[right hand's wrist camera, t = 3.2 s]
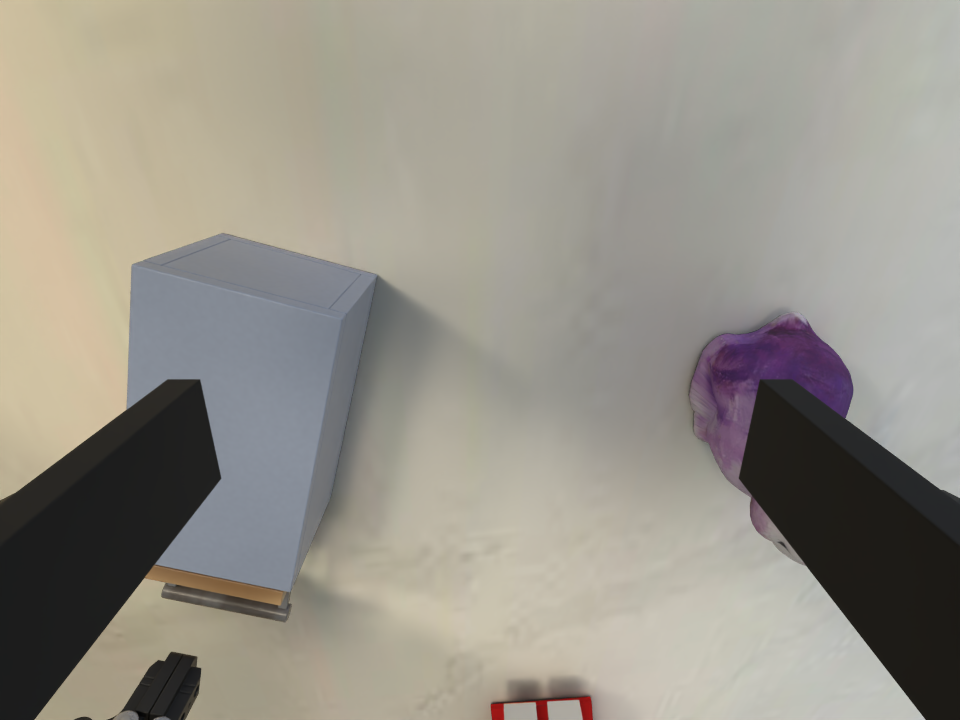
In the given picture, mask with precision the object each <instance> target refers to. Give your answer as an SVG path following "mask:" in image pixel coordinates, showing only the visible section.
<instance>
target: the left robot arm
mask: <svg viewBox="0 0 960 720" xmlns="http://www.w3.org/2000/svg"><path fill="white" fill-rule="evenodd" d="M196 666H197V657H196V656H191V655H186V654H181V653H176V652H171V653H170V654H169V655H168V657H167V659H166V660H165V661H160V660H158V661H157V662H155V663H154V664H153V665H152V666H151V667H150V668H149V669H148V671H147V672H146V674H145V675H144V678H143V679H142V680H141V682H140V684H139V685H138V687H137V688H136V690H135V691H134V693H133V694H132V696H131V698H130V699H129V701H128V702H127V704H126V705H125V707H124V709H123V710H122V711H121V712H120V713H119V714H118V715H116V716H115V717H113V718H111V719H108V720H185V719H186V717H187V715H188V713H189V711H190V709H191V707H192V705H193V703H194V701H195V699H196V698H197V696H198V694H199V686H200V677H201V668H197V667H196ZM75 720H92V719H91V718H89V717H80V718H77V719H75Z"/></svg>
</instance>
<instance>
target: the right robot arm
mask: <svg viewBox="0 0 960 720" xmlns="http://www.w3.org/2000/svg"><path fill="white" fill-rule="evenodd" d="M220 480H221V474H220V469H219V465H218V460H217V455H216V451H215V446H214V441H213V437H212V432H211V427H210V423H209V418H208V413H207V408H206V404H205V399H204V394H203V390H202V385H201V380H200V379H167V380H166V381H165V382H163V383H162V384H161V385H159V386H158V387H157V388H155V389H154V390H153V391H151V392H150V393H149V394H147V395H146V396H145V397H143V398H142V399H140V400H139V401H138V402H136V403H135V404H134V405H132V406H131V407H130V408H128V409H127V410H126V411H124V412H123V413H122V414H120V415H119V416H118V417H116V418H115V419H114V420H112V421H111V422H110V423H108V424H107V425H106V426H104V427H103V428H102V429H100V430H99V431H98V432H96V433H95V434H94V435H92V436H91V437H90V438H88V439H87V440H86V441H84V442H83V443H82V444H80V445H79V446H78V447H76V448H75V449H74V450H72V451H71V452H70V453H68V454H67V455H66V456H64V457H63V458H62V459H60V460H59V461H58V462H56V463H55V464H54V465H52V466H51V467H50V468H48V469H47V470H46V471H44V472H43V473H42V474H40V475H39V476H38V477H36V478H35V479H34V480H32V481H31V482H30V483H28V484H27V485H25V486H24V487H23V488H21V489H20V490H19V491H17V492H16V493H14V494H12V495H10V496H8V497H6V498H4V499H2V500H0V720H34V719H35V718H36V717H37V715H38V714H39V713H40V712H41V710H42V709H43V708H44V706H45V705H46V704H47V703H48V701H49V700H50V699H51V697H52V696H53V695H54V694H55V692H56V691H57V690H58V688H59V687H60V686H61V685H62V683H63V682H64V681H65V679H66V678H67V677H68V676H69V674H70V673H71V672H72V670H73V669H74V668H75V667H76V665H77V664H78V663H79V661H80V660H81V659H82V658H83V656H84V655H85V654H86V652H87V651H88V650H89V649H90V647H91V646H92V645H93V643H94V642H95V641H96V640H97V638H98V637H99V636H100V634H101V633H102V632H103V630H104V629H105V628H106V627H107V625H108V624H109V623H110V621H111V620H112V619H113V618H114V616H115V615H116V614H117V612H118V611H119V610H120V609H121V607H122V606H123V605H124V603H125V602H126V601H127V600H128V598H129V597H130V596H131V594H132V593H133V592H134V591H135V589H136V588H137V587H138V585H139V584H140V583H141V582H142V580H143V579H144V578H145V576H146V575H147V574H148V573H149V571H150V570H151V569H152V567H153V566H154V565H155V564H156V562H157V561H158V560H159V558H160V557H161V556H162V555H163V553H164V552H165V551H166V549H167V548H168V547H169V545H170V544H171V543H172V542H173V540H174V539H175V538H176V536H177V535H178V534H179V533H180V531H181V530H182V529H183V527H184V526H185V525H186V524H187V522H188V521H189V520H190V518H191V517H192V516H193V515H194V513H195V512H196V511H197V509H198V508H199V507H200V506H201V504H202V503H203V502H204V500H205V499H206V498H207V497H208V495H209V494H210V493H211V491H212V490H213V489H214V488H215V486H216V485H217V484H218V482H219V481H220ZM739 480H740V481H741V482H742V484H743V485H744V486H745V488H746V489H747V490H748V491H749V493H750V494H751V495H752V497H753V498H754V499H755V500H756V502H757V503H758V504H759V506H760V507H761V508H762V509H763V511H764V512H765V513H766V515H767V516H768V517H769V518H770V520H771V521H772V522H773V524H774V525H775V526H776V527H777V529H778V530H779V531H780V533H781V534H782V535H783V536H784V538H785V539H786V540H787V542H788V543H789V544H790V545H791V547H792V548H793V549H794V551H795V552H796V553H797V555H798V556H799V557H800V558H801V560H802V561H803V562H804V564H805V565H806V566H807V567H808V569H809V570H810V571H811V573H812V574H813V575H814V576H815V578H816V579H817V580H818V582H819V583H820V584H821V585H822V587H823V588H824V589H825V591H826V592H827V593H828V594H829V596H830V597H831V598H832V600H833V601H834V602H835V603H836V605H837V606H838V607H839V609H840V610H841V611H842V612H843V614H844V615H845V616H846V618H847V619H848V620H849V621H850V623H851V624H852V625H853V627H854V628H855V629H856V630H857V632H858V633H859V634H860V636H861V637H862V638H863V640H864V641H865V642H866V643H867V645H868V646H869V647H870V649H871V650H872V651H873V652H874V654H875V655H876V656H877V658H878V659H879V660H880V661H881V663H882V664H883V665H884V667H885V668H886V669H887V670H888V672H889V673H890V674H891V676H892V677H893V678H894V679H895V681H896V682H897V683H898V685H899V686H900V687H901V688H902V690H903V691H904V692H905V694H906V695H907V696H908V697H909V699H910V700H911V701H912V703H913V704H914V705H915V706H916V708H917V709H918V710H919V712H920V713H921V714H922V715H923V717H924V718H925V719H926V720H960V498H958V497H956V496H954V495H952V494H950V493H948V492H946V491H944V490H940V489H939V488H937V487H936V486H935V485H933V484H932V483H930V482H929V481H928V480H926V479H925V478H924V477H922V476H921V475H920V474H918V473H917V472H916V471H914V470H913V469H912V468H910V467H909V466H908V465H906V464H905V463H904V462H902V461H901V460H900V459H898V458H897V457H896V456H894V455H893V454H892V453H890V452H889V451H888V450H886V449H885V448H884V447H882V446H881V445H880V444H878V443H877V442H876V441H874V440H873V439H872V438H870V437H869V436H868V435H866V434H865V433H864V432H862V431H861V430H860V429H858V428H857V427H856V426H854V425H853V424H852V423H850V422H849V421H848V420H846V419H845V418H844V417H842V416H841V415H840V414H838V413H837V412H836V411H834V410H833V409H832V408H830V407H829V406H828V405H826V404H825V403H824V402H822V401H821V400H820V399H818V398H817V397H815V396H814V395H813V394H811V393H810V392H809V391H807V390H806V389H805V388H803V387H802V386H801V385H799V384H798V383H797V382H795V381H794V380H793V379H760V380H759V385H758V390H757V394H756V399H755V404H754V408H753V413H752V418H751V423H750V427H749V432H748V437H747V441H746V446H745V451H744V455H743V460H742V465H741V469H740V474H739Z"/></svg>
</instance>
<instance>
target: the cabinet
mask: <svg viewBox="0 0 960 720" xmlns="http://www.w3.org/2000/svg"><path fill="white" fill-rule="evenodd" d="M376 279H377V275H376V274H372V273H368V272H365V271H361V270H357V269H354V268H350V267H346V266H343V265H339V264H335V263H331V262H328V261H324V260H320V259H317V258H313V257H309V256H305V255H302V254H298V253H294V252H291V251H287V250H283V249H280V248H276V247H272V246H268V245H265V244H261V243H257V242H254V241H250V240H246V239H243V238H239V237H235V236H231V235H228V234H224V233H221V234H218V235H216V236H213V237H210V238H207V239H204V240H201V241H198V242H195V243H192V244H189V245H186V246H183V247H181V248H178V249H175V250H172V251H169V252H166V253H163V254H160V255H157V256H154V257H151V258H149V259H146V260H143V261H140V262H138V263H135V264H132V272H131V301H130V329H129V358H128V387H127V409H128V408H130V407H131V406H132V405H134V404H135V403H136V402H138V401H139V400H140V399H142V398H143V397H145V396H146V395H147V394H149V393H150V392H151V391H153V390H154V389H155V388H157V387H158V386H159V385H161V384H162V383H163V382H165V381H166V380H167V379H200V380H201V385H202V390H203V394H204V399H205V404H206V408H207V413H208V418H209V423H210V427H211V432H212V437H213V441H214V446H215V451H216V455H217V460H218V465H219V469H220V474H221V480H220V481H219V482H218V484H217V485H216V486H215V488H214V489H213V490H212V491H211V493H210V494H209V495H208V497H207V498H206V499H205V500H204V502H203V503H202V504H201V506H200V507H199V508H198V509H197V511H196V512H195V513H194V515H193V516H192V517H191V518H190V520H189V521H188V522H187V524H186V525H185V526H184V527H183V529H182V530H181V531H180V533H179V534H178V535H177V536H176V538H175V539H174V540H173V542H172V543H171V544H170V545H169V547H168V548H167V549H166V551H165V552H164V553H163V555H162V556H161V557H160V558H159V560H158V561H157V562H156V564H155V565H160V566H165V567H169V568H174V569H179V570H184V571H189V572H194V573H199V574H203V575H208V576H213V577H218V578H223V579H228V580H233V581H237V582H242V583H247V584H252V585H257V586H262V587H267V588H271V589H276V590H281V591H286V592H290V591H291V590H292V587H293V585H294V583H295V581H296V578H297V576H298V574H299V571H300V569H301V566H302V564H303V562H304V559H305V557H306V555H307V552H308V550H309V548H310V545H311V543H312V540H313V538H314V536H315V533H316V531H317V529H318V526H319V524H320V522H321V519H322V517H323V515H324V512H325V510H326V507H327V505H328V503H329V500H330V498H331V494H332V489H333V484H334V480H335V475H336V470H337V465H338V461H339V456H340V451H341V446H342V442H343V437H344V432H345V427H346V422H347V418H348V413H349V408H350V403H351V399H352V394H353V389H354V384H355V380H356V375H357V370H358V365H359V360H360V356H361V351H362V346H363V341H364V337H365V332H366V327H367V322H368V318H369V313H370V308H371V303H372V299H373V294H374V289H375V284H376Z"/></svg>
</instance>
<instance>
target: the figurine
mask: <svg viewBox="0 0 960 720" xmlns="http://www.w3.org/2000/svg"><path fill="white" fill-rule="evenodd" d="M760 379H793V380H794V381H795V382H797V383H798V384H799V385H801V386H802V387H803V388H805V389H806V390H807V391H809V392H810V393H811V394H813V395H814V396H815V397H817V398H818V399H820V400H821V401H822V402H824V403H825V404H826V405H828V406H829V407H830V408H832V409H833V410H834V411H836V412H837V413H838V414H840V415H841V416H842V417H844V418H846V415H847V412H848V410H849V406H850V403H851V399H852V396H853V384H852V380H851V376H850V373H849V371H848V369H847V368H846V366H845V364H844V363H843V361H842V360H841V358H840V357H839V355H838V354H837V353H836V352H835V351H834V350H833V349H832V348H831V347H830V346H829V345H828V344H826V343H825V342H823V341H822V340H821V339H820V338H819V337H818V336H817V335H816V334H815V333H814V331H813V330H812V328H811V327H810V325H809V323H808V321H807V319H806V318H805V317H804V316H803V315H801V314H800V313H798V312H789V313H785V314H782V315H780V316H778V317H777V318H776V319H774V320H773V321H771V322H770V323H768V324H767V325H765V326H764V327H762V328H760V329H759V330H757V331H755V332H751V333H748V334H740V335H735V334H723V335H720V336H718V337H716V338H715V339H713V340H712V341H711V342H710V343H709V344H708V345H707V346H706V347H705V349H704V350H703V351H702V354H701V357H700V359H699V362H698V365H697V367H696V370H695V373H694V376H693V379H692V382H691V388H690V393H689V397H690V402H691V407H692V410H694V411H695V412H694V433H695V435H696V437H697V438H699V439H701V440H702V441H704V442H708V443H709V445H710V448H711V450H712V453H713V455H714V457H715V460H716V462H717V464H718V466H719V467H720V469H721V471H722V473H723V474H724V476H725V477H726V478H727V480H728V481H730V482H731V483H732V484H733V485H734V486H735V487H737V488H738V489H739V490H741V491H742V492H744V493H745V494H747V495H748V496H750V497H751V502H750V517H751V520H752V523H753V525H754V527H755V529H756V530H757V531H758V532H759V533H760V534H761V535H762V536H763V537H765V538H766V539H768V540H770V541H772V542H773V544H774V545H775V546H776V547H777V548H778V549H779V550H780V551H781V552H782V553H783V554H785V555H786V556H788V557H789V558H790V559H792V560H794V561H795V562H797V563H800V564H802V565H805V564H804V562H803V561H802V560H801V558H800V557H799V556H798V555H797V553H796V552H795V551H794V549H793V548H792V547H791V545H790V544H789V543H788V542H787V540H786V539H785V538H784V536H783V535H782V534H781V533H780V531H779V530H778V529H777V527H776V526H775V525H774V524H773V522H772V521H771V520H770V518H769V517H768V516H767V515H766V513H765V512H764V511H763V509H762V508H761V507H760V506H759V504H758V503H757V502H756V500H755V499H754V498H753V497H752V495H751V494H750V493H749V491H748V490H747V489H746V488H745V486H744V485H743V484H742V482H741V481H740V480H739V474H740V469H741V465H742V460H743V455H744V451H745V446H746V441H747V437H748V432H749V427H750V423H751V418H752V413H753V408H754V404H755V399H756V394H757V390H758V385H759V380H760Z"/></svg>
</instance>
